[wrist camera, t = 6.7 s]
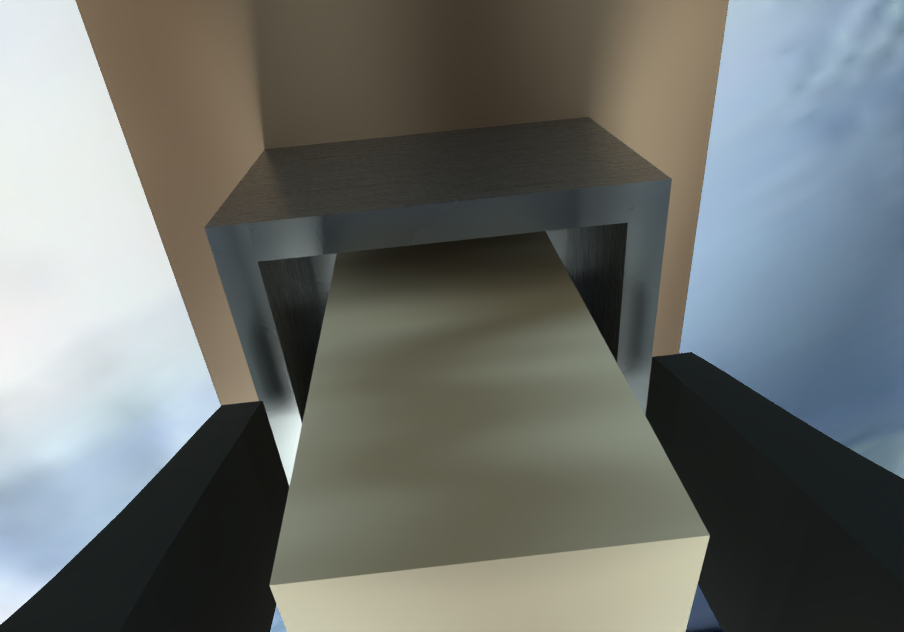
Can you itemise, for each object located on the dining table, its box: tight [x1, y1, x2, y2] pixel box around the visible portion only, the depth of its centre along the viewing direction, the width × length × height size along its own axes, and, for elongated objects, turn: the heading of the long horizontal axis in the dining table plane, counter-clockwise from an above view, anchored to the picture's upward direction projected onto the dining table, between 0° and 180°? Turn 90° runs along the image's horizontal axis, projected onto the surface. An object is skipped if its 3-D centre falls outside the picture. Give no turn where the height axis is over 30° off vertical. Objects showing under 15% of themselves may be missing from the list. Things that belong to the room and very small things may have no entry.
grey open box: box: [204, 117, 672, 487], centre depth 12 cm, size 7×7×4 cm
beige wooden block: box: [269, 231, 710, 632], centre depth 10 cm, size 4×4×8 cm
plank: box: [76, 0, 729, 416], centre depth 16 cm, size 12×22×1 cm, turn 5°
